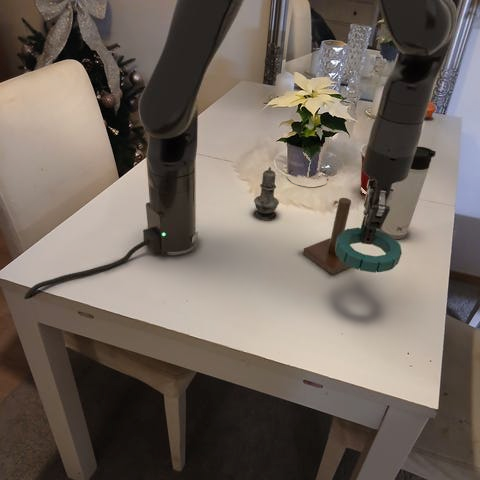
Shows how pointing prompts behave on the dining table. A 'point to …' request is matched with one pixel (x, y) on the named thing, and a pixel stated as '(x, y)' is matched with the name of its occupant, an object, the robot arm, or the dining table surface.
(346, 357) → the dining table surface
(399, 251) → the ring
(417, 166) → the travel mug
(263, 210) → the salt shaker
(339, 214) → the post
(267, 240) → the dining table surface
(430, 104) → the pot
